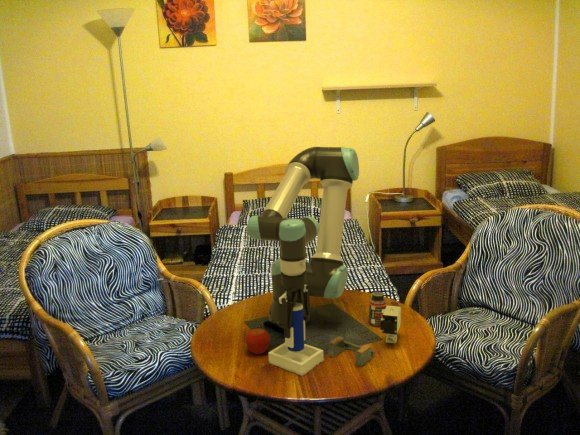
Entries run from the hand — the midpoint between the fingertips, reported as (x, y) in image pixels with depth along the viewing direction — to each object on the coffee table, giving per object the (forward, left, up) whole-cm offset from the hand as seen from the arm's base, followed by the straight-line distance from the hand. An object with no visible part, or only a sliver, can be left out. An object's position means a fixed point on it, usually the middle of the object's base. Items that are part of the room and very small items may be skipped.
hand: (295, 342), depth 169 cm
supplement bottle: (+7, +38, -7) cm, 39 cm away
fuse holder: (+12, +12, -7) cm, 18 cm away
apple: (-14, -2, -7) cm, 16 cm away
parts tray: (0, 0, -7) cm, 7 cm away
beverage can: (0, 0, -2) cm, 2 cm away
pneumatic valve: (+17, +29, -7) cm, 34 cm away
